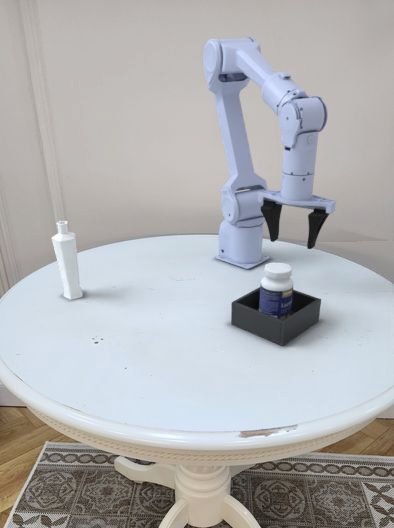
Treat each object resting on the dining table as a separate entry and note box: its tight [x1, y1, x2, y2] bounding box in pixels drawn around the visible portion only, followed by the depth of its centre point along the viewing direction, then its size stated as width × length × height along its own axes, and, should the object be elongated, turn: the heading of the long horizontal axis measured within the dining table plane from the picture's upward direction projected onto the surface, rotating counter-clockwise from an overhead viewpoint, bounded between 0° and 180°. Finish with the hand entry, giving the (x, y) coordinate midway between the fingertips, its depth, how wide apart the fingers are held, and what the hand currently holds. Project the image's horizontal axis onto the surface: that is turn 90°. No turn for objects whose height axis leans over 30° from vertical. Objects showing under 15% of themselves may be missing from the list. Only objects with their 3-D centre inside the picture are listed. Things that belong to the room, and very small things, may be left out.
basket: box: [230, 286, 322, 347], centre depth 94 cm, size 11×11×4 cm
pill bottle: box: [259, 262, 294, 321], centre depth 93 cm, size 6×6×10 cm
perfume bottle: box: [51, 220, 84, 301], centre depth 103 cm, size 5×4×15 cm
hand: (292, 243), depth 103 cm, fingers open, 7 cm apart
